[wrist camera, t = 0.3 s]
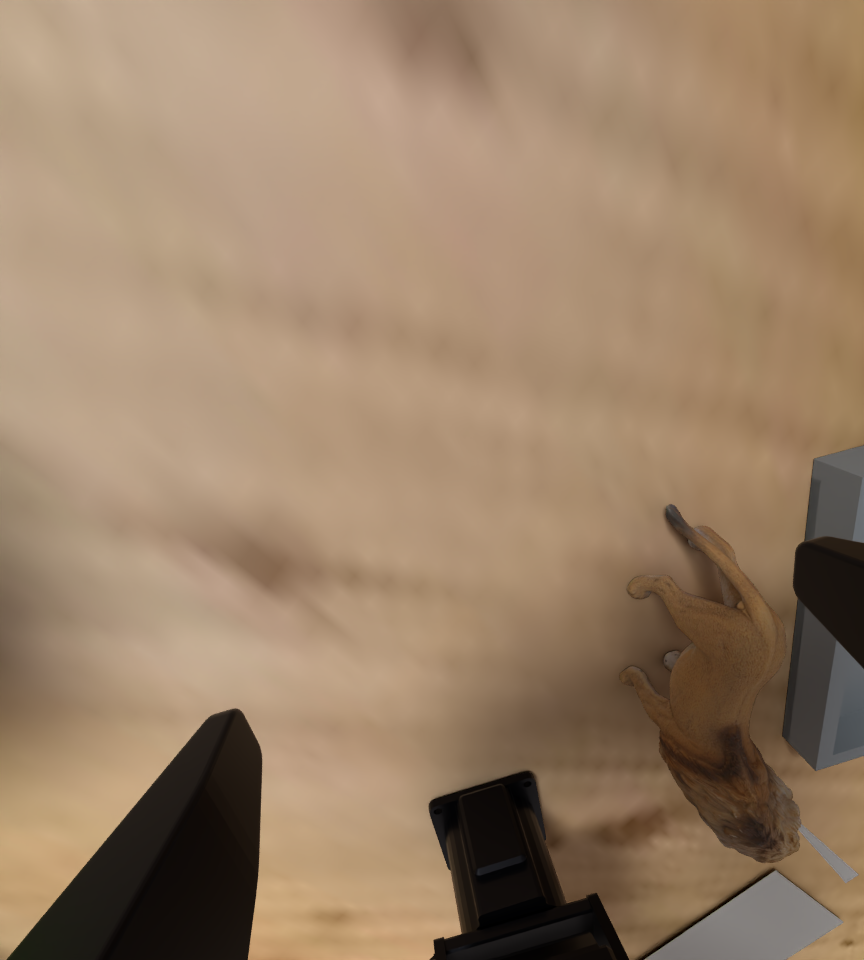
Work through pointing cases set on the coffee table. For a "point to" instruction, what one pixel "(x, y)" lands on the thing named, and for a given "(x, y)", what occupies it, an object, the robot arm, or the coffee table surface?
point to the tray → (816, 653)
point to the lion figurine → (720, 703)
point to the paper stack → (761, 920)
